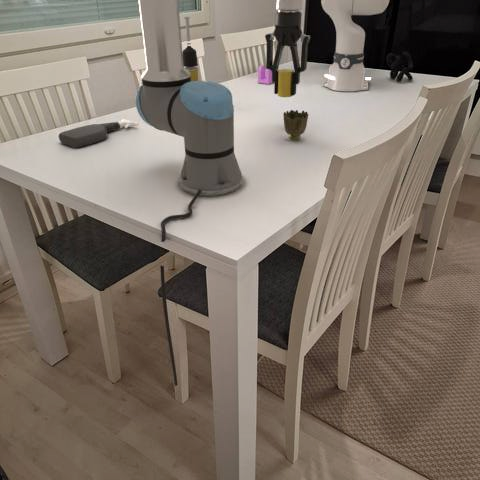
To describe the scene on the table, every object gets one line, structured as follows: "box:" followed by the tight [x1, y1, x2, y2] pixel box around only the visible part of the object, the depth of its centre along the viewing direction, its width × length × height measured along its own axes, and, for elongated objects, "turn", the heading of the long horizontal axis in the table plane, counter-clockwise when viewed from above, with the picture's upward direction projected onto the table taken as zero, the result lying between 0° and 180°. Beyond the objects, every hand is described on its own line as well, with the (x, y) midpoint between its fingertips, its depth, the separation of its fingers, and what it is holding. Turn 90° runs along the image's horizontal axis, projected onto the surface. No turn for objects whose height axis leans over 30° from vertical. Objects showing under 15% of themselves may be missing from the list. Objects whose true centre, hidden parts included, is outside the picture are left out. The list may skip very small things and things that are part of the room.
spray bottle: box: [58, 118, 139, 148], centre depth 142 cm, size 3×11×24 cm
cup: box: [282, 109, 309, 142], centre depth 134 cm, size 8×7×8 cm
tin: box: [277, 68, 295, 98], centre depth 139 cm, size 5×5×8 cm
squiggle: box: [385, 51, 414, 83], centre depth 198 cm, size 11×10×15 cm
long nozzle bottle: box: [182, 16, 199, 82], centre depth 166 cm, size 6×6×30 cm
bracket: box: [257, 65, 274, 85], centre depth 202 cm, size 13×6×7 cm, turn 143°
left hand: (285, 93), depth 140 cm, fingers closed on tin, 5 cm apart
